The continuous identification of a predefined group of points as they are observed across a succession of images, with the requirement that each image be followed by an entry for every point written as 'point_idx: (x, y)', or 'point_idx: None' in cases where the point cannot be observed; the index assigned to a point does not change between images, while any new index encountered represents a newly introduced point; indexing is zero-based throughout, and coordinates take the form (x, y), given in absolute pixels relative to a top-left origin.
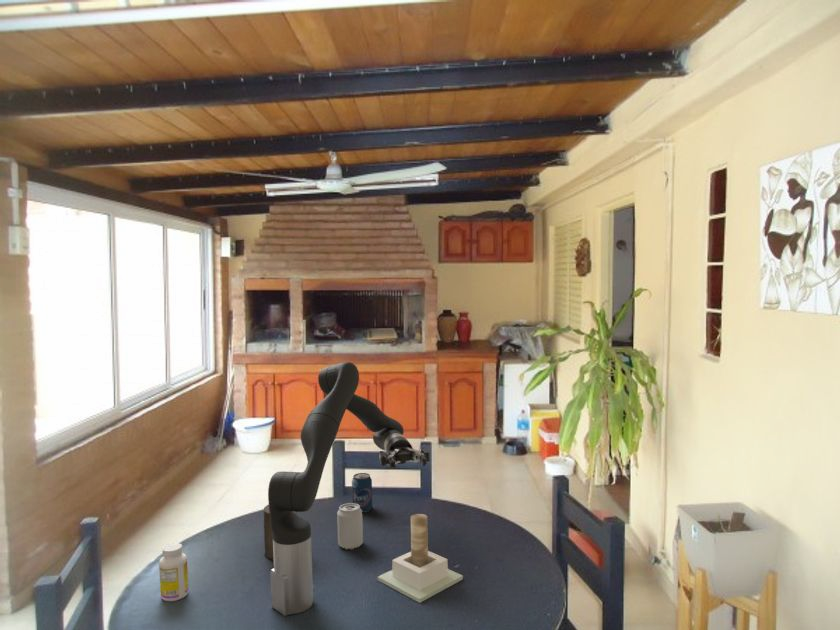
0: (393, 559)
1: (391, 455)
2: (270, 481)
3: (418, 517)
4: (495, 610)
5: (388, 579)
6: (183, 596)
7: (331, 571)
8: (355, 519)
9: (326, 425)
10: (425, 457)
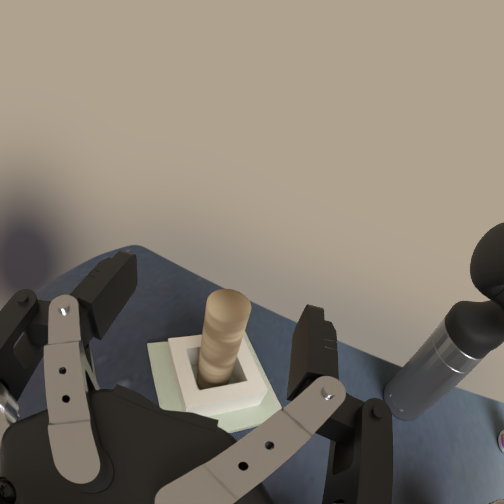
0: (264, 390)
1: (307, 415)
2: None
3: (231, 303)
4: (167, 279)
5: (270, 398)
6: (499, 434)
7: None
8: None
9: None
10: (84, 279)
